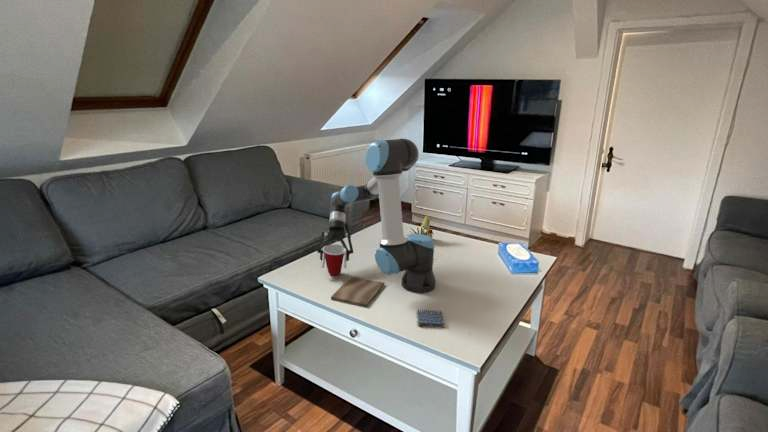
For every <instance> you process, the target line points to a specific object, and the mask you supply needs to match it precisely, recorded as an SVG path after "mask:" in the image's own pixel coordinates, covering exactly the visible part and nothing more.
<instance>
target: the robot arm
mask: <svg viewBox="0 0 768 432" xmlns="http://www.w3.org/2000/svg"><path fill="white" fill-rule="evenodd" d="M418 160H419V149H418V147H417V145H416V143H415V142H413V141H412V140H410V139H408V138H398V139H396V138H395V139H385V140H384V139H382V140H378V141H373V142H371V144H370V145H369V146H368V148H367V149H366V153H365V164H366V167H367V169H368V170H369V171H370V172H372V175H373V177H372V178H371V179H370V180H369V181H368V182H367V183H366V184H364V185H363V184H362V185H357V186H355V185H353V184H346V185H345V186H344V187H343V188H341V190H340V191H336V192H333V193H332V194H331V198H330V211H329V224H328V231H327V232H325V231H321V237H320V240H319V241H318V242H319V243H318V245H317V248H316V252H317V253H318V254H319V255H320V256H319V260H320V261H321V268H322V269H325V264H326V260H325V256H324V252H323V247H324V246H327V245H331V244H332V243H333V242H340V243H341V244H342V245H341V246H343V247H344V248H346V252H345V253H344V257H343V268H344V269H347V262H349V260H350V255H351V254H354V250H353V249H354V248H353V244H352V240H351V238H352V233H351V232H346V229H345V228H346V215H347V214H346V213H347V208H349V206H350V205H351V204H355V203H356V204H357V203H361V202H362V203H363V202H366V201H374V200H376V199H378V200H379V213H380V223H381V233H382V238H381V239H379V242H378V243H379V247H378V248H377V249H376V250H375V252H374V259H375V262H376V265H377V267H378V268H379V270H380V271H381V272H382V273H383V274H385V275H389V276H391V275H394V274H398V273H401V272H403V271H404V272H403V275H402V277H401V287H402V288H403V289H405V290H406V291H408V292H412V293H417V294H419V293H420V294H423V293H429V292H432V291H433V290H434V289H436V285H437V283H436V282H437V281H436V280H437V279H436V278H435V274H434V273H435V272H434V270H433V269H434V268H433V267H434V266H433V265H434V253H435V252H434V251H435V241H434V239H433V237H432V238H431V237H429V236H427V235H423V234H419V233H410V234H408V235H407V237H406V236H404V226H403V225H404V224H403V214H402V213H403V212H402V201H401V190H400V189H401V188H400V177H401V176H402V174H403V173H404V172H407V171H409V170H411V168H413V167H414V166H415V165H416V163H417V162H418ZM327 236H328V239H327V241H326V242H325V239H326V238H327ZM344 237H346V238H347V241H348V246H349V249H348V246H347V244H346V243H345V241H344ZM324 242H325V243H324ZM323 244H324V245H323Z"/></svg>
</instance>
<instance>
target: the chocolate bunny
mask: <svg viewBox="0 0 768 432" xmlns="http://www.w3.org/2000/svg"><path fill="white" fill-rule="evenodd" d="M430 223H431V218H430V217H429V216H428V215H425V217H424V219H423V222H422V223H421V225H420V227H419V229H420V228H424V229H426V230H427V232H428V236H429V237H431V238H432V239H433V235H434V232H433V229H431V227H430Z"/></svg>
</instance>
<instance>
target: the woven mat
mask: <svg viewBox="0 0 768 432" xmlns="http://www.w3.org/2000/svg"><path fill="white" fill-rule="evenodd" d="M416 318H417V320H416V324H417V327H420V328H423V327H424V328H429V327H431V328H446V325H445V323H446V322H445V319H444V314H443V311H442V310H440V309H439V310H435V309H434V310H431V309H428V310H427V309H417V311H416Z"/></svg>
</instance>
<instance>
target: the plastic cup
mask: <svg viewBox="0 0 768 432" xmlns="http://www.w3.org/2000/svg"><path fill="white" fill-rule="evenodd" d="M323 246H324V245H323ZM323 246H322V248H323V252H324V256H325V265H326V268H327V272H328V274H330V275H333V276H336V275H339V274H341V272H342V268H343V264H344V258H345V253H346V248H344V247H343V245H341V244H330V245H327V246H324V247H323Z"/></svg>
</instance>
